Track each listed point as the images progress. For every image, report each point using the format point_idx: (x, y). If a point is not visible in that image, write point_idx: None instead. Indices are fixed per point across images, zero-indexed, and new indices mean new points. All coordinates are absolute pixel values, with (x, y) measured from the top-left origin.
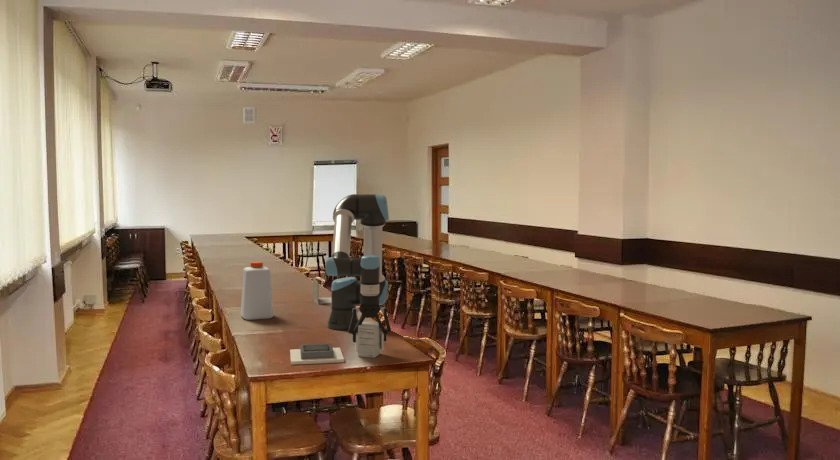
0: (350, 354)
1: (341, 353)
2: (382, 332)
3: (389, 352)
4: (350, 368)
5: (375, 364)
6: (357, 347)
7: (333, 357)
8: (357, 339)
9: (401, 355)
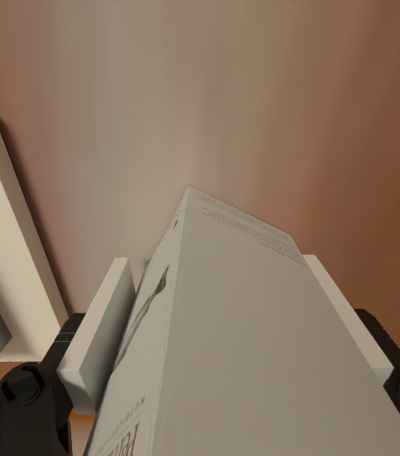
0: (94, 228)
1: (35, 274)
2: (389, 369)
3: (355, 215)
4: None
5: None
6: (126, 312)
7: (11, 338)
8: (106, 366)
9: (392, 284)
